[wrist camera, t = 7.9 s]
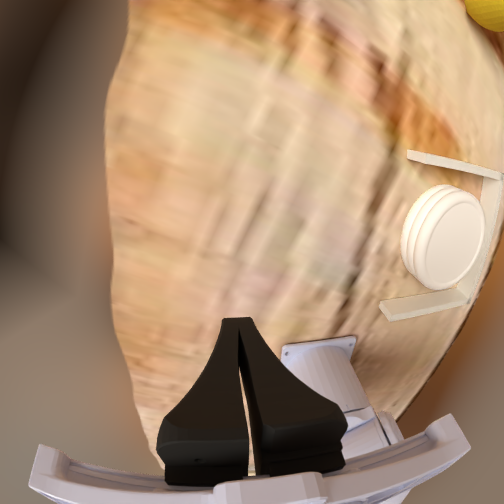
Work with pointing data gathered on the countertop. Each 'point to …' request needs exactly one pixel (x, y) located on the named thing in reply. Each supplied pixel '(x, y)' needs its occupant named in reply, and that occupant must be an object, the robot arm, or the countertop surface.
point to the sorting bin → (467, 285)
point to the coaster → (442, 236)
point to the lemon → (487, 13)
